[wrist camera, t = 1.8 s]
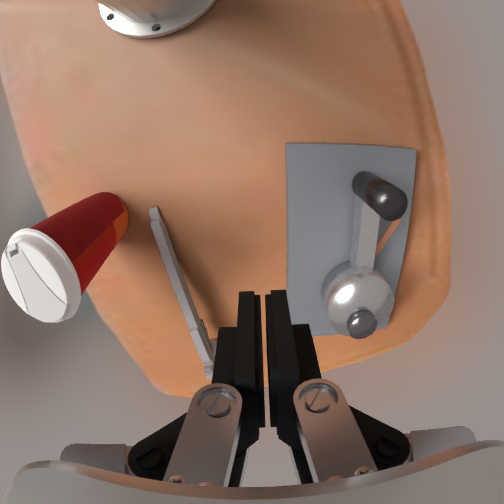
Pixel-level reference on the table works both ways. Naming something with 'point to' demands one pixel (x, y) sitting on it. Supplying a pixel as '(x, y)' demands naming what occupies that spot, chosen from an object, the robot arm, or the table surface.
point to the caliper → (183, 294)
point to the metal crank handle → (363, 262)
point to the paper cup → (62, 256)
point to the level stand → (337, 219)
